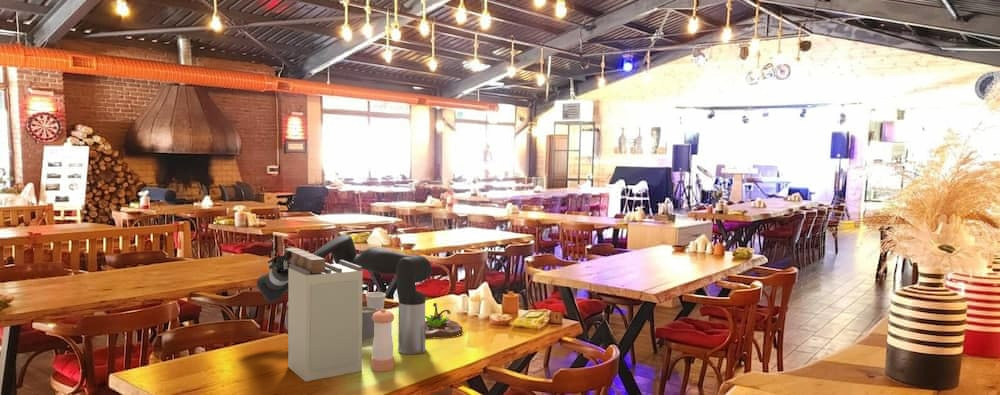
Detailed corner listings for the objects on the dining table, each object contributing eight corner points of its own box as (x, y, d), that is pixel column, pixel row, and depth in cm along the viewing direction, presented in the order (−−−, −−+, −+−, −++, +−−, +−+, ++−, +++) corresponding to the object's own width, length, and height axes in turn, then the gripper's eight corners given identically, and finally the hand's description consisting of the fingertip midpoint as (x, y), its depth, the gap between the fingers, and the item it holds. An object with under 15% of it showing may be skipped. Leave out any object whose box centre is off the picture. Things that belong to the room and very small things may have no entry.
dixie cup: (375, 321, 266) (375, 297, 265) (361, 318, 270) (361, 294, 270) (389, 317, 273) (389, 293, 272) (375, 314, 277) (375, 291, 277)
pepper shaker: (373, 363, 211) (374, 306, 209) (396, 364, 210) (396, 306, 209) (368, 371, 203) (369, 311, 202) (391, 371, 203) (392, 311, 202)
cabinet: (288, 367, 206) (288, 263, 204) (341, 357, 216) (342, 259, 214) (306, 382, 192) (306, 271, 190) (362, 371, 203) (363, 267, 201)
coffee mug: (381, 337, 242) (381, 310, 242) (355, 340, 237) (355, 313, 237) (369, 328, 254) (369, 303, 253) (344, 331, 249) (344, 306, 248)
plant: (456, 324, 265) (456, 297, 264) (466, 337, 246) (467, 308, 245) (407, 326, 259) (408, 299, 259) (414, 340, 241) (414, 310, 240)
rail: (284, 260, 213) (284, 248, 213) (296, 259, 215) (296, 247, 215) (312, 273, 192) (312, 260, 192) (325, 272, 194) (325, 259, 194)
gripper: (259, 262, 218) (273, 243, 206) (301, 259, 227) (316, 240, 214) (263, 283, 216) (276, 265, 203) (304, 279, 224) (320, 261, 212)
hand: (297, 252), depth 209 cm, fingers closed on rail, 4 cm apart
